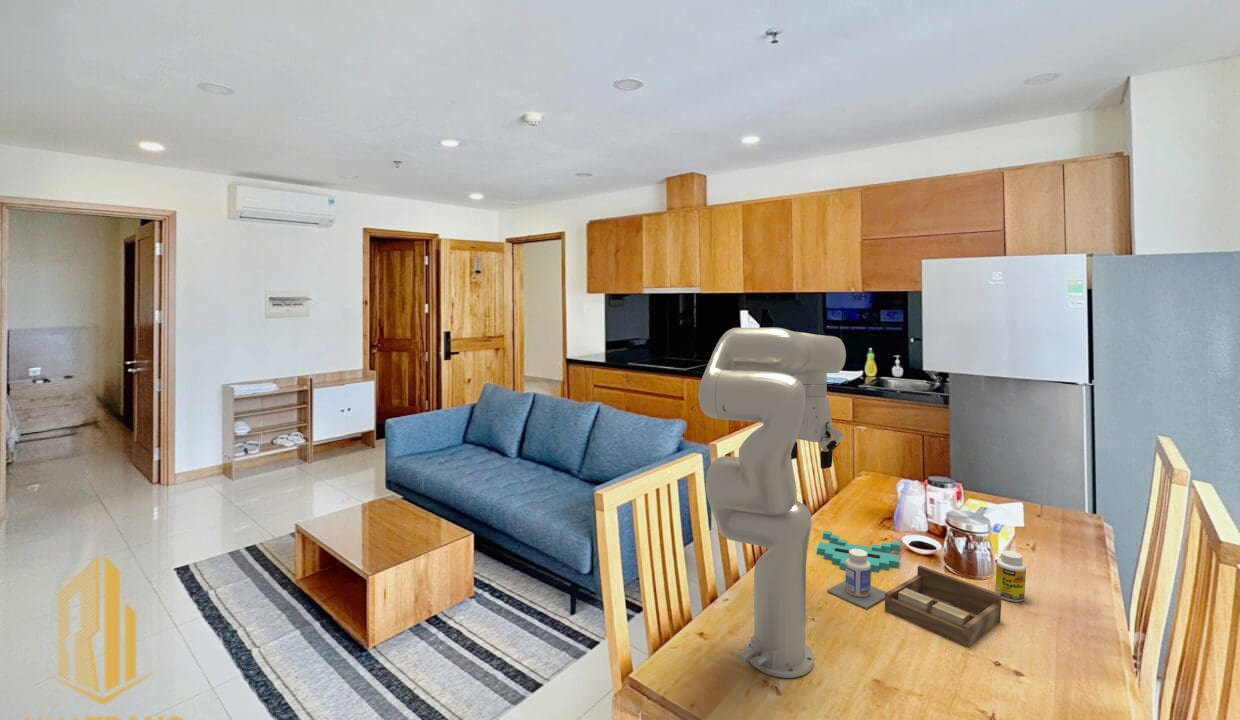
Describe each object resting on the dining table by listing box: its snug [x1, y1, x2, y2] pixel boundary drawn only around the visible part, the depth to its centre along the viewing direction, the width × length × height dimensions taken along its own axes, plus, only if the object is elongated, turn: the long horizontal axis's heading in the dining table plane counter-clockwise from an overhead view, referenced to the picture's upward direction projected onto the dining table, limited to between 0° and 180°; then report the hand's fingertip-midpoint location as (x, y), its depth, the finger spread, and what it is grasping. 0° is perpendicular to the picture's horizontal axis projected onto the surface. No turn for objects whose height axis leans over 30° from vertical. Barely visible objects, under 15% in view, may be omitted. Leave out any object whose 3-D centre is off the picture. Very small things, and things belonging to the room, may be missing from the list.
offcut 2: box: [932, 601, 970, 628], centre depth 115 cm, size 3×6×4 cm, turn 35°
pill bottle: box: [845, 549, 872, 597], centre depth 130 cm, size 5×5×10 cm
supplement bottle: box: [994, 550, 1027, 603], centre depth 128 cm, size 6×6×10 cm
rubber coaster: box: [826, 580, 887, 611], centre depth 131 cm, size 10×10×1 cm
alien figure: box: [816, 530, 901, 573], centre depth 150 cm, size 20×2×20 cm
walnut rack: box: [884, 565, 1002, 648], centre depth 121 cm, size 15×17×6 cm
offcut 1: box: [898, 588, 934, 615], centre depth 121 cm, size 3×6×4 cm, turn 35°
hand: (808, 463), depth 130 cm, fingers open, 9 cm apart
